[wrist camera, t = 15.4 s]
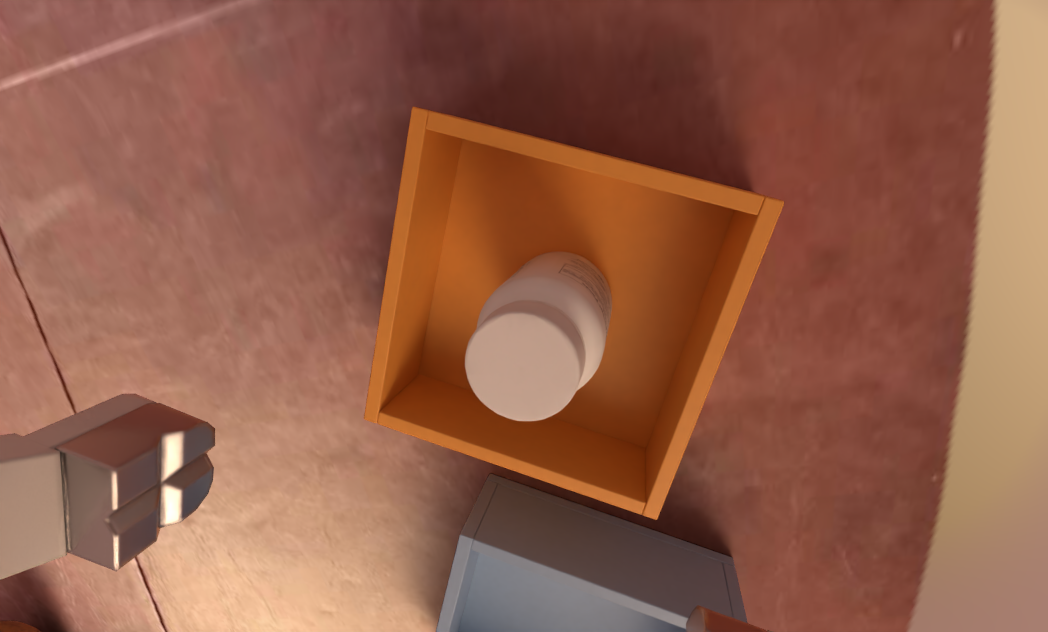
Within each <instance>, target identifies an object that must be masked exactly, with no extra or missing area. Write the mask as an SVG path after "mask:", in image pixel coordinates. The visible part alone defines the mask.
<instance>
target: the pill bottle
mask: <svg viewBox="0 0 1048 632" xmlns="http://www.w3.org/2000/svg"><path fill="white" fill-rule="evenodd" d="M611 312H612V297H611V291H610V288H609V285H608V283H607V281H606V279H605V277H604V276H603V274H602V273H601V272H600V270H599V269H598V268H597V267H596V266H595V265H594V264H592V263H591V262H590V261H589V260H587V259H585V258H584V257H582V256H579V255H577V254H573V253H569V252H559V251H557V252H548V253H544V254H541V255H538V256H536V257H535V258H533V259H531V260H530V261H528V262H527V263H525V264H524V265H523V266H521V268H520V269H519V270H518V271H517V272H516V273H515V274H513V275H512V276H511V277H510V278H509V279H508V280H506V281H505V282H504V283H503V284H502V285H501V286H499V287H498V288H497V289H496V290H495V291H494V292H493V294H492V295H491V296H490V297H489V298H488V300H487V301H486V302H485V304H484V306H483V308H482V310H481V312H480V315H479V318H478V322H477V329H476V330H475V332H474V333H473V335H472V336H471V338H470V340H469V342H468V346H467V349H466V355H465V369H466V374H467V378H468V381H469V384H470V386H471V388H472V389H473V391H474V393H475V394H476V396H477V397H478V398H479V400H480V401H481V402H482V403H483V404H484V405H486V406H487V407H488V408H489V409H491V410H492V411H494V412H495V413H497V414H499V415H501V416H504V417H506V418H509V419H513V420H517V421H537V420H542V419H546V418H548V417H550V416H552V415H554V414H556V413H558V412H559V411H561V410H562V409H563V408H564V407H565V406H566V405H567V404H568V403H569V402H570V401H571V399H572V398H573V396H574V394H575V393H576V391H577V390H579V389H580V388H581V387H583V386H584V385H585V384H586V383H587V382H588V381H589V380H590V379H591V378H592V376H593V375H594V374H595V372H596V370H597V369H598V367H599V365H600V362H601V359H602V356H603V352H604V348H605V343H606V337H607V332H608V328H609V323H610V318H611Z"/></svg>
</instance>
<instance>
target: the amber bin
mask: <svg viewBox="0 0 1048 632" xmlns="http://www.w3.org/2000/svg"><path fill="white" fill-rule="evenodd" d="M783 205H784V201H782V200H779V199H775V198H772V197H768V196H765V195H761V194H758V193H755V192H751V191H747V190H743V189H739V188H735V187H731V186H727V185H723V184H719V183H715V182H712V181H708V180H704V179H700V178H696V177H692V176H688V175H684V174H680V173H676V172H672V171H668V170H665V169H661V168H657V167H653V166H649V165H645V164H641V163H637V162H633V161H629V160H625V159H621V158H617V157H614V156H610V155H606V154H602V153H598V152H594V151H590V150H586V149H582V148H578V147H574V146H570V145H566V144H563V143H559V142H555V141H551V140H547V139H543V138H539V137H535V136H531V135H527V134H523V133H519V132H515V131H512V130H508V129H504V128H500V127H496V126H492V125H488V124H484V123H480V122H476V121H472V120H468V119H464V118H461V117H456V116H452V115H448V114H444V113H439V112H435V111H431V110H427V109H422V108H418V107H412V111H411V118H410V124H409V131H408V137H407V144H406V150H405V156H404V163H403V169H402V176H401V182H400V189H399V195H398V202H397V208H396V215H395V221H394V228H393V234H392V240H391V247H390V253H389V260H388V266H387V273H386V279H385V286H384V292H383V299H382V305H381V311H380V318H379V324H378V331H377V337H376V344H375V350H374V357H373V363H372V370H371V376H370V382H369V389H368V395H367V402H366V408H365V415H364V419H365V420H368V421H371V422H373V423H377V422H378V424H379V425H382V426H385V427H388V428H391V429H394V430H397V431H400V432H403V433H406V434H408V435H411V436H414V437H417V438H420V439H423V440H426V441H429V442H432V443H435V444H437V445H440V446H443V447H446V448H449V449H452V450H455V451H458V452H461V453H463V454H466V455H469V456H472V457H475V458H478V459H481V460H484V461H487V462H490V463H492V464H495V465H498V466H501V467H504V468H507V469H510V470H513V471H516V472H519V473H521V474H524V475H527V476H530V477H533V478H536V479H539V480H542V481H545V482H548V483H550V484H553V485H556V486H559V487H562V488H565V489H568V490H571V491H574V492H576V493H579V494H582V495H585V496H588V497H591V498H594V499H597V500H600V501H603V502H605V503H608V504H611V505H614V506H617V507H620V508H623V509H626V510H629V511H632V512H634V513H637V514H642V515H643V516H646V517H649V518H652V519H655V520H657V519H658V516H659V514H660V511H661V509H662V506H663V504H664V501H665V499H666V496H667V494H668V491H669V489H670V486H671V484H672V482H673V479H674V477H675V474H676V472H677V469H678V467H679V464H680V462H681V459H682V457H683V454H684V452H685V449H686V447H687V444H688V442H689V439H690V437H691V434H692V432H693V429H694V427H695V424H696V422H697V419H698V417H699V414H700V412H701V409H702V407H703V404H704V402H705V399H706V397H707V394H708V392H709V389H710V387H711V384H712V382H713V379H714V377H715V374H716V372H717V369H718V367H719V364H720V362H721V360H722V357H723V355H724V352H725V350H726V347H727V345H728V342H729V340H730V337H731V335H732V332H733V330H734V327H735V325H736V322H737V320H738V317H739V315H740V312H741V310H742V307H743V305H744V302H745V300H746V297H747V295H748V292H749V290H750V287H751V285H752V282H753V280H754V277H755V275H756V272H757V270H758V267H759V265H760V262H761V260H762V257H763V255H764V252H765V250H766V247H767V245H768V243H769V240H770V238H771V235H772V233H773V230H774V228H775V225H776V223H777V220H778V218H779V215H780V213H781V210H782V208H783ZM557 251H559V252H569V253H573V254H577V255H579V256H582V257H584V258H585V259H587V260H589V261H590V262H591V263H592V264H594V265H595V266H596V267H597V268H598V269H599V270H600V272H601V273H602V274H603V276H604V277H605V279H606V281H607V283H608V285H609V288H610V291H611V297H612V312H611V318H610V323H609V328H608V332H607V337H606V343H605V348H604V352H603V356H602V359H601V362H600V365H599V367H598V369H597V370H596V372H595V374H594V375H593V376H592V378H591V379H590V380H589V381H588V382H587V383H586V384H585V385H584V386H583V387H581V388H580V389H579V390H577V391H576V393H575V394H574V396H573V398H572V399H571V401H570V402H569V403H568V404H567V405H566V406H565V407H564V408H563V409H562V410H561V411H559V412H558V413H556V414H554V415H552V416H550V417H548V418H546V419H542V420H537V421H517V420H513V419H509V418H506V417H504V416H501V415H499V414H497V413H495V412H494V411H492V410H491V409H489V408H488V407H487V406H486V405H484V404H483V403H482V402H481V401H480V400H479V398H478V397H477V396H476V394H475V393H474V391H473V389H472V388H471V386H470V384H469V381H468V378H467V374H466V369H465V355H466V349H467V346H468V342H469V340H470V338H471V336H472V335H473V333H474V332H475V330H476V329H477V322H478V318H479V315H480V312H481V310H482V308H483V306H484V304H485V302H486V301H487V300H488V298H489V297H490V296H491V295H492V294H493V292H494V291H495V290H496V289H497V288H498V287H499V286H501V285H502V284H503V283H504V282H505V281H506V280H508V279H509V278H510V277H511V276H512V275H513V274H515V273H516V272H517V271H518V270H519V269H520V268H521V266H523V265H524V264H525V263H527V262H528V261H530V260H531V259H533V258H535V257H536V256H538V255H541V254H544V253H548V252H557Z"/></svg>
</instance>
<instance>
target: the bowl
mask: <svg viewBox="0 0 1048 632" xmlns="http://www.w3.org/2000/svg"><path fill="white" fill-rule="evenodd" d="M0 632H40V631H39V630H38V629H37V628H35V627H33V626H31V625H28V624H25V623H22V622H17V621H0Z"/></svg>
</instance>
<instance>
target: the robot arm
mask: <svg viewBox="0 0 1048 632" xmlns="http://www.w3.org/2000/svg"><path fill="white" fill-rule="evenodd" d="M214 446H215V428H214V427H212V426H211V425H210V424H209V423H208V422H205V421H203V420H200V419H198V418H195V417H193V416H190V415H188V414H186V413H183V412H181V411H178V410H176V409H173V408H171V407H168V406H166V405H163V404H161V403H156V402H154V401H152V400H149V399H147V398H144V397H142V396H139V395H137V394H121V395H119V396H116V397H114V398H112V399H109V400H107V401H105V402H102V403H100V404H98V405H95V406H93V407H91V408H88V409H86V410H84V411H81V412H79V413H77V414H74V415H72V416H70V417H67V418H65V419H63V420H60V421H58V422H56V423H54V424H51V425H49V426H47V427H44V428H42V429H40V430H37V431H35V432H33V433H30V434H28V435H26V436H20V435H17V434H15V433H14V434H7V435H0V580H1V579H4V578H7V577H9V576H12V575H15V574H17V573H20V572H23V571H26V570H28V569H31V568H34V567H36V566H39V565H42V564H45V563H47V562H50V561H53V560H55V559H58V558H61V557H64V556H66V555H67V552H68V553H71V554H73V555H76V556H79V557H81V558H84V559H86V560H89V561H91V562H94V563H96V564H99V565H102V566H104V567H107V568H109V569H112V570H114V571H117V570H119V569H120V568H121V567H123V566H124V565H125V564H127V563H128V562H129V561H131V560H132V559H133V558H134V557H136V556H137V555H138V554H140V553H141V552H142V551H144V550H145V549H146V548H148V547H149V546H150V545H152V544H153V543H154V542H156V541H157V537H158V534H159V531H160V528H162V527H165V526H169V525H172V524H176V523H179V522H182V521H183V520H184V519H185V518H187V517H188V516H189V515H190V514H192V513H193V512H194V511H195V510H196V509H197V508H198V507H199V505H200V504H201V503H202V501H203V500H204V498H205V497H206V496H207V494H208V492H209V489H210V487H211V484H212V481H213V471H214V467H213V465H212V463H211V461H210V459H209V457H208V455H207V452H208V451H209V450H211V449H212V448H213V447H214ZM686 632H772V631H769V630H768V631H766V630H764V629H762V628H759V627H757V626H754V625H751V624H748V623H746V622H743V621H740V620H737V619H735V618H732V617H729V616H726V615H724V614H721V613H718V612H715V611H713V610H710V609H707V608H704V607H702V606H699V605H697V606H696V607H695V608H694V610H693V611H692V612H691V614H690V616H689V618H688V620H687V622H686Z"/></svg>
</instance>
